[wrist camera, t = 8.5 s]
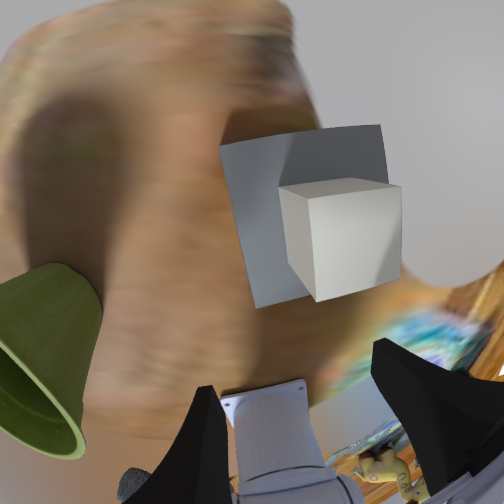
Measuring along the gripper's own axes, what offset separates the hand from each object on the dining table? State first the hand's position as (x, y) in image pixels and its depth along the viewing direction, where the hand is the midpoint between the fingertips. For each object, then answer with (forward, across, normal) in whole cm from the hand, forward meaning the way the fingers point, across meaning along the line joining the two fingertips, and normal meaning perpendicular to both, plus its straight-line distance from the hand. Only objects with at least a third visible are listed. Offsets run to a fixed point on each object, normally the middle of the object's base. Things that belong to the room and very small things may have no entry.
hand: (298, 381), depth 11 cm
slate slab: (+10, -4, -5) cm, 12 cm away
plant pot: (+10, +16, -2) cm, 19 cm away
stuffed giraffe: (+10, -12, +36) cm, 39 cm away
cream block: (+7, -4, -5) cm, 9 cm away
